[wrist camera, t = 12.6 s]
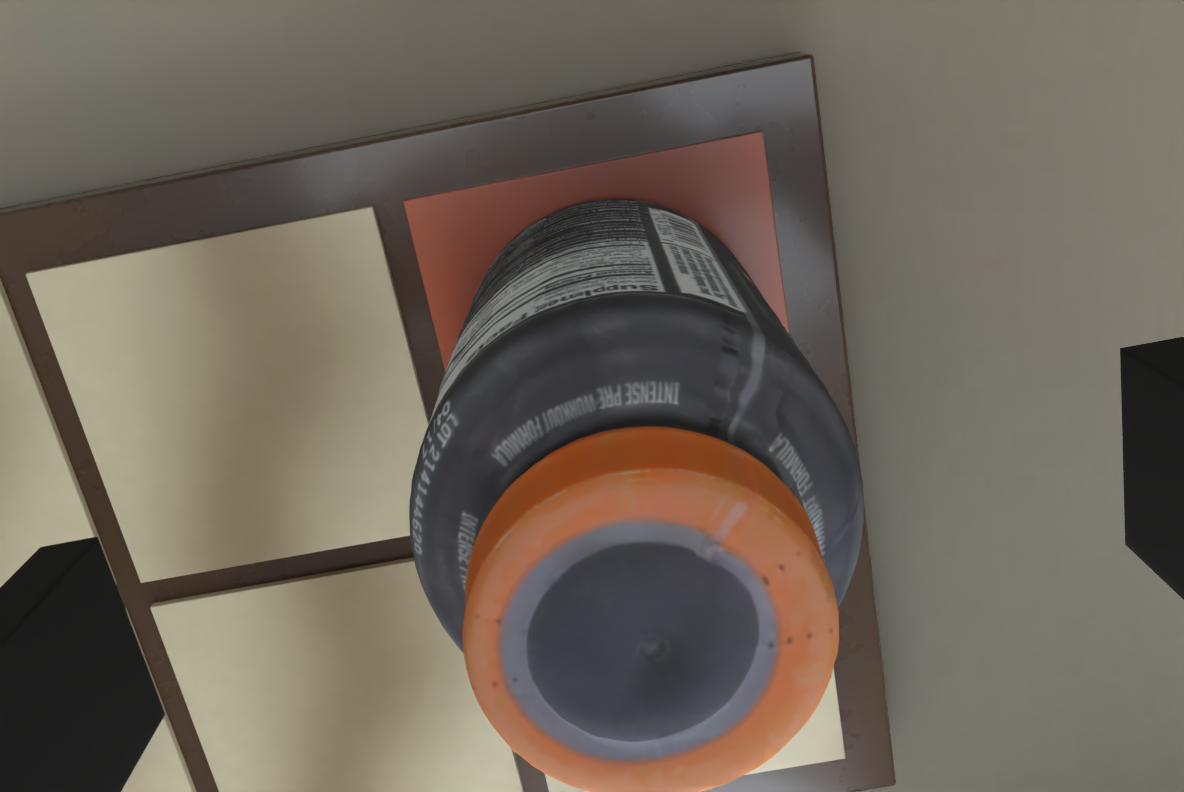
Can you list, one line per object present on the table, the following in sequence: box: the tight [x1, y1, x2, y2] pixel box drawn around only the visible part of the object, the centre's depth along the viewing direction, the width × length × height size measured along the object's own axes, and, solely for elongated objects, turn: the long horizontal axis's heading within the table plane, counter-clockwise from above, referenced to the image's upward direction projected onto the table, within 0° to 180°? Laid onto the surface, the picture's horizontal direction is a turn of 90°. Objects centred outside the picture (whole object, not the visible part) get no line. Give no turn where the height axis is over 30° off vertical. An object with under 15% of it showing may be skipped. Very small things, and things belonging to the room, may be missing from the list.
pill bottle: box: [409, 198, 864, 792], centre depth 16 cm, size 6×6×11 cm
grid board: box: [0, 52, 896, 792], centre depth 24 cm, size 24×17×1 cm
